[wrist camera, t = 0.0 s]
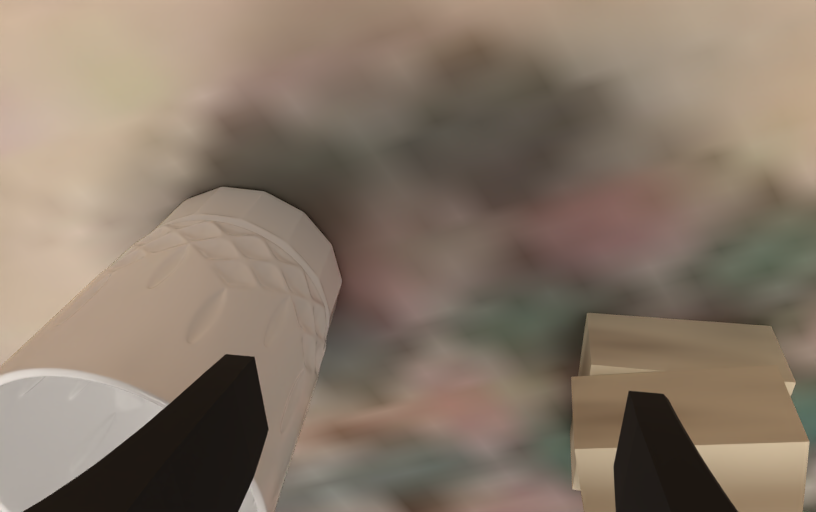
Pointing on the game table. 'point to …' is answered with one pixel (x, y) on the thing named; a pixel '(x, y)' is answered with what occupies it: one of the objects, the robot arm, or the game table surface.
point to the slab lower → (672, 350)
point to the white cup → (173, 341)
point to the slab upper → (701, 432)
